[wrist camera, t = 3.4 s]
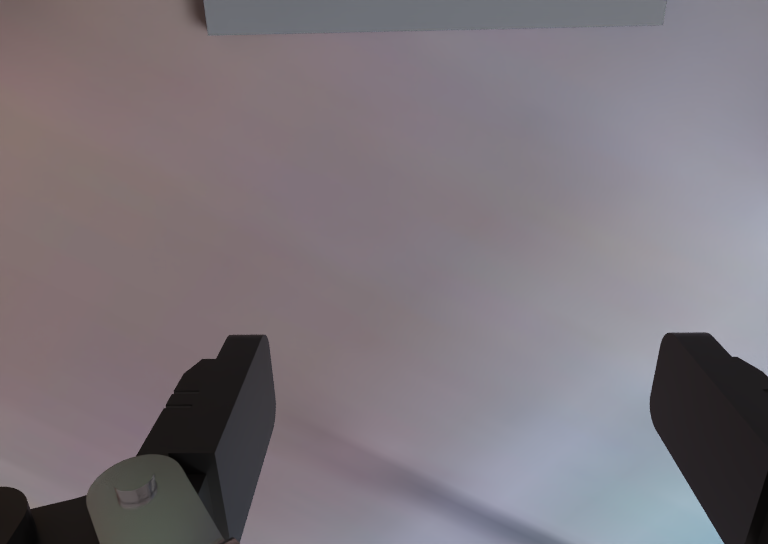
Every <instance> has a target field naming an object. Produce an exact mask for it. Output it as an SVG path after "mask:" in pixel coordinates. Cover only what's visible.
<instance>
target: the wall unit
mask: <svg viewBox="0 0 768 544" xmlns="http://www.w3.org/2000/svg"><path fill="white" fill-rule="evenodd" d="M203 1H204V8H205V16H206V23H207V31H208V35H251V34H296V33H341V32H386V31H431V30H476V29H521V28H566V27H610V26H655V25H663V23H664V16H665V10H666V4H667V0H203Z"/></svg>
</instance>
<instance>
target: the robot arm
mask: <svg viewBox="0 0 768 544" xmlns="http://www.w3.org/2000/svg"><path fill="white" fill-rule="evenodd" d="M275 412H276V400H275V390H274V382H273V373H272V365H271V356H270V348H269V342H268V338H267V336H266V335H229V336H228V337H227V339H226V341H225V343H224V345H223V346H222V348H221V350H220V352H219V354H218V356H217V358H216V359H202V360H201V361H199V362H198V363H197V364H196V365H194V366H193V367H192V368H191V369H189V370H188V371H187V372H185V373H184V374H183V376H182V378H181V379H180V381H179V383H178V385H177V386H176V388H175V390H174V394H172V395H171V397H170V398H169V400H168V402H167V404H166V408H164V409H163V411H162V412H161V414H160V416H159V417H158V419H157V421H156V423H155V424H154V426H153V428H152V430H151V431H150V433H149V435H148V436H147V438H146V440H145V442H144V443H143V445H142V447H141V449H140V450H139V452H138V454H137V455H136V457H132V458H129V459H126V460H123V461H121V462H119V463H117V464H115V465H114V466H112V467H110V468H109V469H107V470H106V471H105V472H103V473H102V474H101V475H100V476H99V477H98V478H97V479H96V480H95V481H94V482H93V484H92V485H91V487H90V489H89V490H88V493H87V495H86V496H83V497H79V498H76V499H72V500H67V501H63V502H59V503H55V504H50V505H46V506H42V507H38V508H34V509H30V507H29V504H28V501H27V499H26V497H25V495H24V494H23V493H22V492H21V491H19V490H17V489H15V488H10V487H0V544H240V540H241V536H242V533H243V529H244V526H245V523H246V519H247V516H248V512H249V509H250V506H251V502H252V499H253V495H254V492H255V489H256V485H257V482H258V479H259V475H260V472H261V468H262V465H263V462H264V458H265V455H266V451H267V448H268V445H269V441H270V438H271V434H272V431H273V427H274V422H275ZM650 413H651V418H652V422H653V425H654V427H655V429H656V431H657V432H658V434H659V436H660V437H661V439H662V441H663V442H664V444H665V446H666V447H667V449H668V451H669V452H670V454H671V456H672V457H673V459H674V461H675V462H676V464H677V466H678V467H679V469H680V471H681V472H682V474H683V476H684V477H685V479H686V481H687V482H688V484H689V486H690V487H691V489H692V491H693V492H694V494H695V496H696V497H697V499H698V501H699V502H700V504H701V506H702V507H703V509H704V511H705V512H706V514H707V516H708V517H709V519H710V521H711V522H712V524H713V526H714V527H715V529H716V531H717V532H718V534H719V536H720V537H721V539H722V541H723V542H724V544H768V377H767V376H766V375H765V374H764V372H762V371H760V370H759V369H757V368H755V367H754V366H752V365H750V364H749V363H747V362H745V361H743V360H742V359H740V358H738V357H731V355H730V354H729V353H728V352H727V351H726V350H725V349H724V348H723V347H722V346H721V345H720V344H719V343H718V342H717V341H716V340H715V338H714V337H713V336H712V335H710V334H709V333H705V332H703V333H667V334H665V336H664V337H663V339H662V341H661V345H660V350H659V355H658V360H657V365H656V370H655V375H654V380H653V385H652V390H651V395H650Z"/></svg>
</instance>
